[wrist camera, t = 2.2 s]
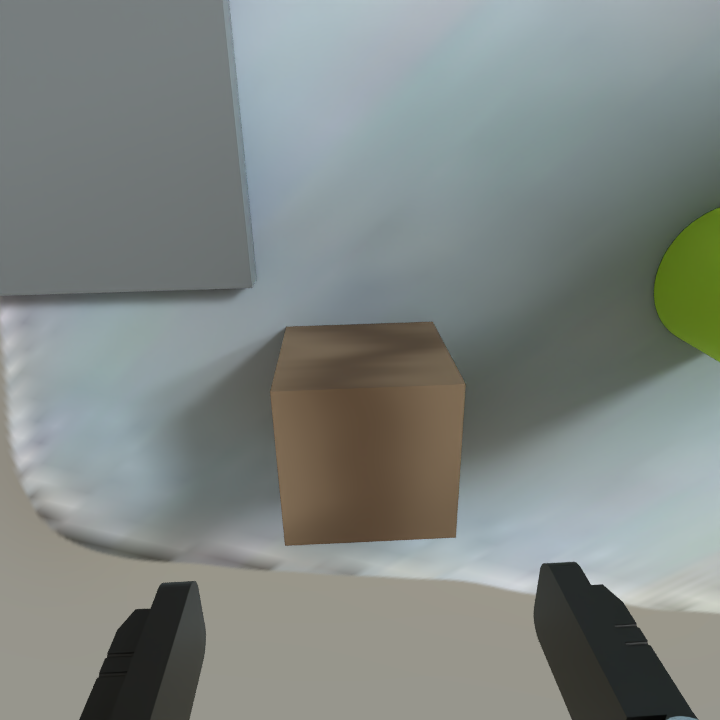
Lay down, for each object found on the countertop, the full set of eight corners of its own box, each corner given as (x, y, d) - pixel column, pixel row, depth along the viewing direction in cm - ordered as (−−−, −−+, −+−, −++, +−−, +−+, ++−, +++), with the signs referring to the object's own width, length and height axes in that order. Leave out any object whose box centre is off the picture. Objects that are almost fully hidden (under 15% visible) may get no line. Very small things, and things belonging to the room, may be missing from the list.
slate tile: (217, -110, 16) (209, -128, 15) (256, 279, 21) (252, 287, 20) (-194, -107, 16) (-234, -126, 14) (-59, 289, 20) (-81, 298, 19)
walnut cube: (432, 320, 22) (465, 384, 16) (427, 445, 24) (455, 537, 19) (286, 326, 22) (269, 391, 16) (296, 451, 24) (285, 545, 18)
